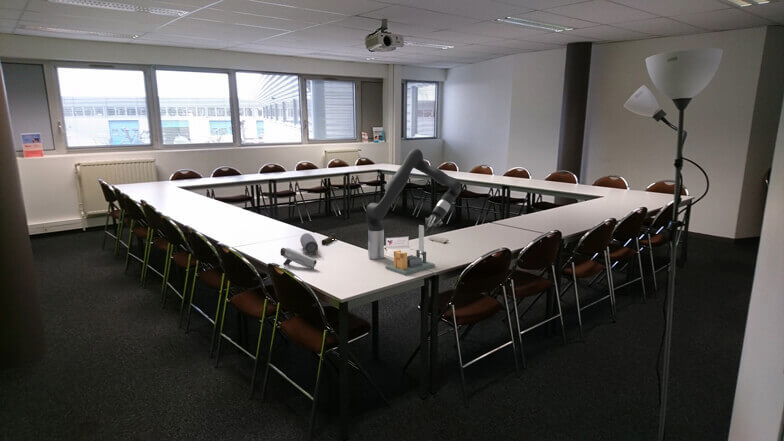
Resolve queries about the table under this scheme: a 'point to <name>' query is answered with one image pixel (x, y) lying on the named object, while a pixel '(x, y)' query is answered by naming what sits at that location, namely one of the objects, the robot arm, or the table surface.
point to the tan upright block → (400, 260)
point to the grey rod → (421, 239)
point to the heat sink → (413, 261)
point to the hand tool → (329, 239)
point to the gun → (297, 258)
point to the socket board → (414, 269)
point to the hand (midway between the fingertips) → (426, 232)
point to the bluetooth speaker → (309, 243)
